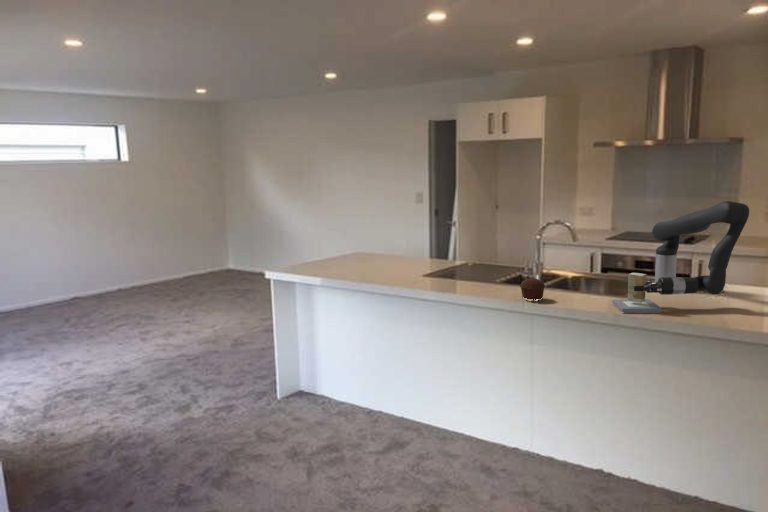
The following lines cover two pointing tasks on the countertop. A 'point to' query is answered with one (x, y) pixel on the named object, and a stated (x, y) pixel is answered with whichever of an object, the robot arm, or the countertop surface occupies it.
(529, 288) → the muffin
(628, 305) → the plate
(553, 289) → the countertop surface
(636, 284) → the skincare box
